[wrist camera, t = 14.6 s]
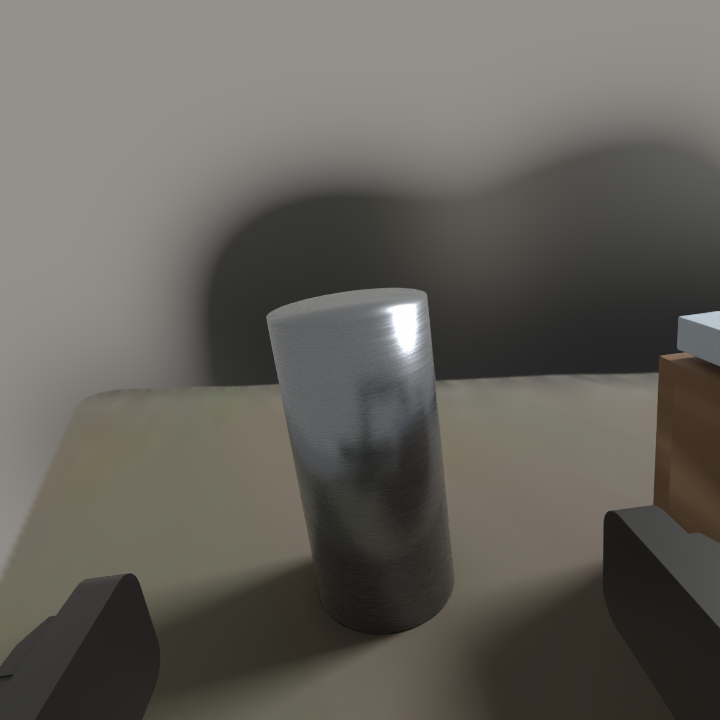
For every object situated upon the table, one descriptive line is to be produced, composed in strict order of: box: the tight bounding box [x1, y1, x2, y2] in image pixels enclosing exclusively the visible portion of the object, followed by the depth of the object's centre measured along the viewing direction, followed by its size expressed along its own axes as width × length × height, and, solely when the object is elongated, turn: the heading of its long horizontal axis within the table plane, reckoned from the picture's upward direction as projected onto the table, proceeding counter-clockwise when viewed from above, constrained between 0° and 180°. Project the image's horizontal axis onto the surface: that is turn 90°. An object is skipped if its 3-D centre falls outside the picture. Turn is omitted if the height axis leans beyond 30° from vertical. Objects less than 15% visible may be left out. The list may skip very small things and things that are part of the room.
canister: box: [267, 288, 454, 634], centre depth 16 cm, size 5×5×10 cm
